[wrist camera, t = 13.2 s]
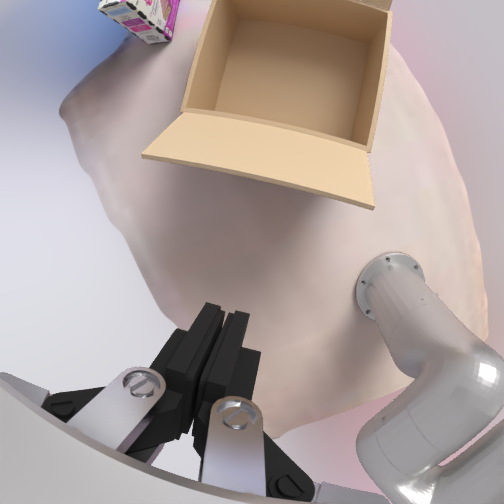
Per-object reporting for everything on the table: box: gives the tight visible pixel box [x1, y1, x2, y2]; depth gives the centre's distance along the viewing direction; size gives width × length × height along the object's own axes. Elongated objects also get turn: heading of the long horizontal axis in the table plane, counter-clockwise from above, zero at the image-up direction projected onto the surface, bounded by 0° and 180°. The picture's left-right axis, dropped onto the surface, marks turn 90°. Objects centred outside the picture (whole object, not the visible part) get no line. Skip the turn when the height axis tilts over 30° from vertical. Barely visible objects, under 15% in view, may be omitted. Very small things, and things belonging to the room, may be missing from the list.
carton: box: [180, 0, 393, 153], centre depth 32 cm, size 22×20×12 cm
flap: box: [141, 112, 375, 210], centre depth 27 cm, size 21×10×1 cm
